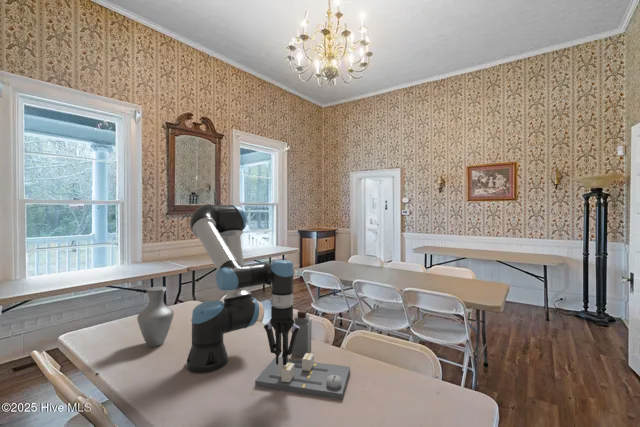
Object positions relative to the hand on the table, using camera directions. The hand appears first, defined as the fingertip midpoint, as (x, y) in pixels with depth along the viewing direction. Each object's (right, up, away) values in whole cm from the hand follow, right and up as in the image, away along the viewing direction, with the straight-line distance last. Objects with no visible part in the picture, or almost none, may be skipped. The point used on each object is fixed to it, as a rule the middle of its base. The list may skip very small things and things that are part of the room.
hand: (281, 373), depth 107 cm
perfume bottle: (+6, -4, +24) cm, 25 cm away
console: (+8, -4, +3) cm, 9 cm away
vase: (-61, -3, +31) cm, 68 cm away
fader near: (+2, -1, 0) cm, 3 cm away
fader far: (+9, -2, +7) cm, 12 cm away
